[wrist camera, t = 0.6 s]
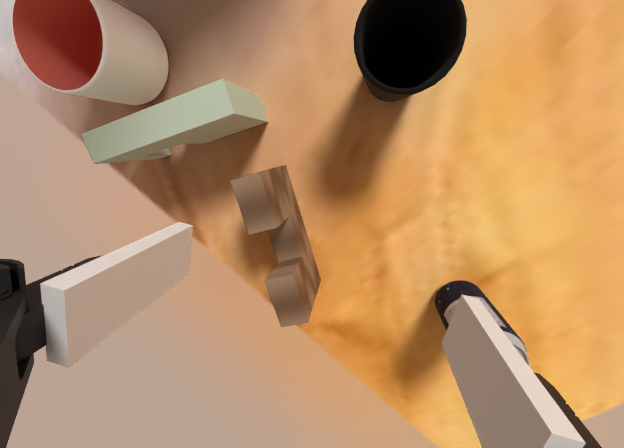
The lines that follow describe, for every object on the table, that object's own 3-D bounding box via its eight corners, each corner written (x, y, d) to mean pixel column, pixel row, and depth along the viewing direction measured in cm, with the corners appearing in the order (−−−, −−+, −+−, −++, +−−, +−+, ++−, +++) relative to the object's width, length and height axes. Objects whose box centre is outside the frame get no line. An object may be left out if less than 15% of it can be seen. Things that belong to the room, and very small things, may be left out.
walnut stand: (263, 171, 37) (230, 180, 28) (285, 165, 37) (258, 172, 27) (300, 284, 41) (281, 327, 31) (320, 280, 40) (307, 322, 30)
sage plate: (159, 159, 39) (94, 163, 30) (150, 136, 39) (80, 133, 29) (268, 121, 36) (234, 113, 26) (260, 96, 35) (222, 78, 25)
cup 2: (383, 126, 34) (395, 116, 22) (342, 71, 33) (332, 32, 21) (443, 77, 31) (490, 39, 20) (401, 17, 31) (424, -59, 19)
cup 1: (123, 118, 39) (45, 109, 29) (87, 38, 37) (-10, 0, 27) (186, 88, 36) (124, 68, 27) (151, 2, 34) (70, -54, 25)
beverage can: (427, 310, 38) (455, 380, 27) (441, 272, 37) (477, 329, 25) (471, 322, 38) (519, 398, 26) (487, 283, 36) (545, 347, 25)
